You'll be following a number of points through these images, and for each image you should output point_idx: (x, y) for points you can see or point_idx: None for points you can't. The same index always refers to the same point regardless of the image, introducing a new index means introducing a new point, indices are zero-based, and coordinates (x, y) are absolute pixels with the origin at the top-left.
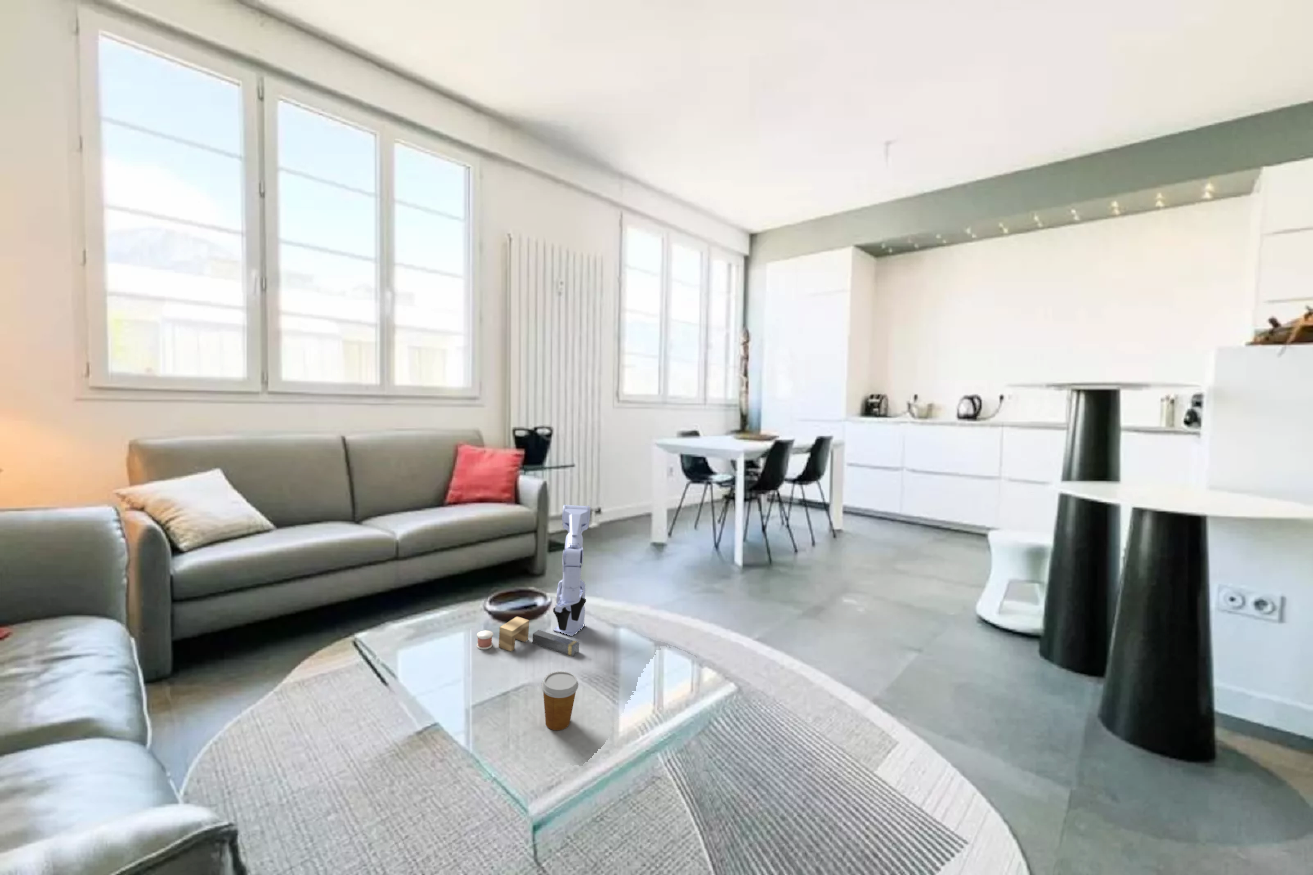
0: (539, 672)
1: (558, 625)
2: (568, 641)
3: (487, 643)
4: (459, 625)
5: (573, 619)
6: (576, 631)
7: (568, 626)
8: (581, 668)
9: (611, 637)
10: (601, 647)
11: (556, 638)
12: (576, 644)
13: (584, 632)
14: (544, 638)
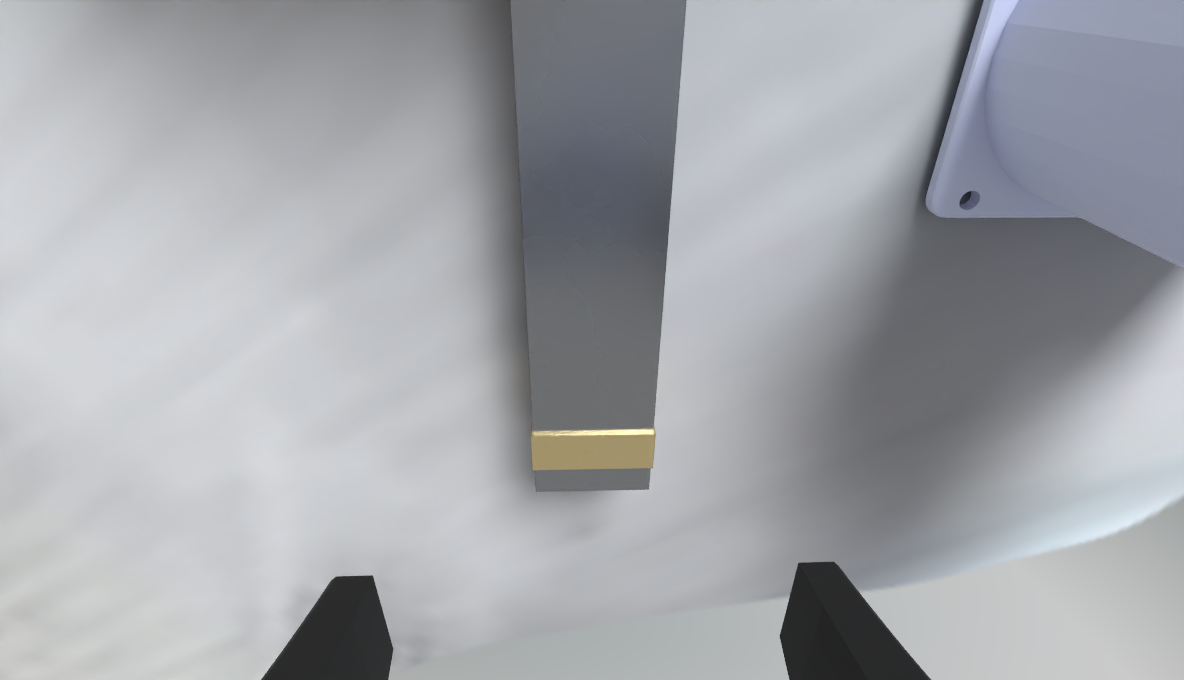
0: (78, 318)
1: (288, 642)
2: (602, 396)
3: None
4: None
5: (798, 600)
6: (1046, 204)
7: (1049, 151)
8: (419, 541)
9: (1013, 503)
10: (806, 514)
11: (591, 233)
12: (593, 486)
13: (1069, 266)
14: (515, 47)
